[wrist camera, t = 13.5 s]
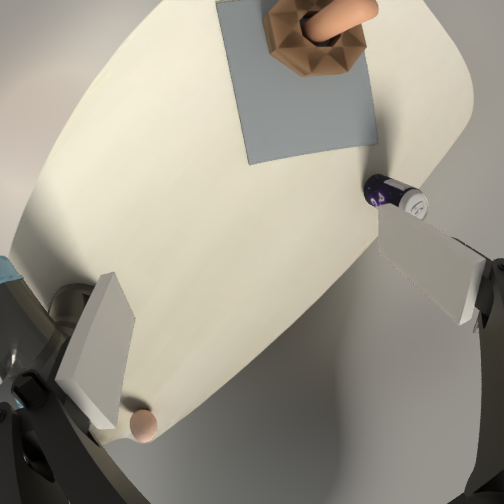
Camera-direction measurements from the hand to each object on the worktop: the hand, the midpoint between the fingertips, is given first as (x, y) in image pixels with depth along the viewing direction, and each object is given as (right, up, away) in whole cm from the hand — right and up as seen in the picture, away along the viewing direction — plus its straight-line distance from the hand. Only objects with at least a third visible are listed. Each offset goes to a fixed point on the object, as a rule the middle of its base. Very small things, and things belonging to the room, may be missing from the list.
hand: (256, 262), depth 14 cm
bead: (+9, +33, +21) cm, 40 cm away
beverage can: (+21, +12, +35) cm, 42 cm away
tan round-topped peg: (+8, +33, +21) cm, 40 cm away
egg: (-27, -38, +48) cm, 67 cm away
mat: (+8, +27, +24) cm, 37 cm away
